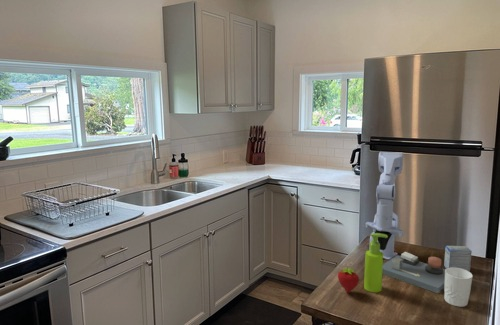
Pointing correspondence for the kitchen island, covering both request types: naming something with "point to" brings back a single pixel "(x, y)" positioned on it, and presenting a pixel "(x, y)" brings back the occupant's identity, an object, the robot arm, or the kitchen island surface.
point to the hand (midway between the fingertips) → (382, 249)
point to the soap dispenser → (374, 265)
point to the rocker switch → (409, 257)
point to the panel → (417, 274)
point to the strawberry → (348, 279)
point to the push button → (434, 262)
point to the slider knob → (397, 263)
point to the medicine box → (457, 257)
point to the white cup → (457, 286)
